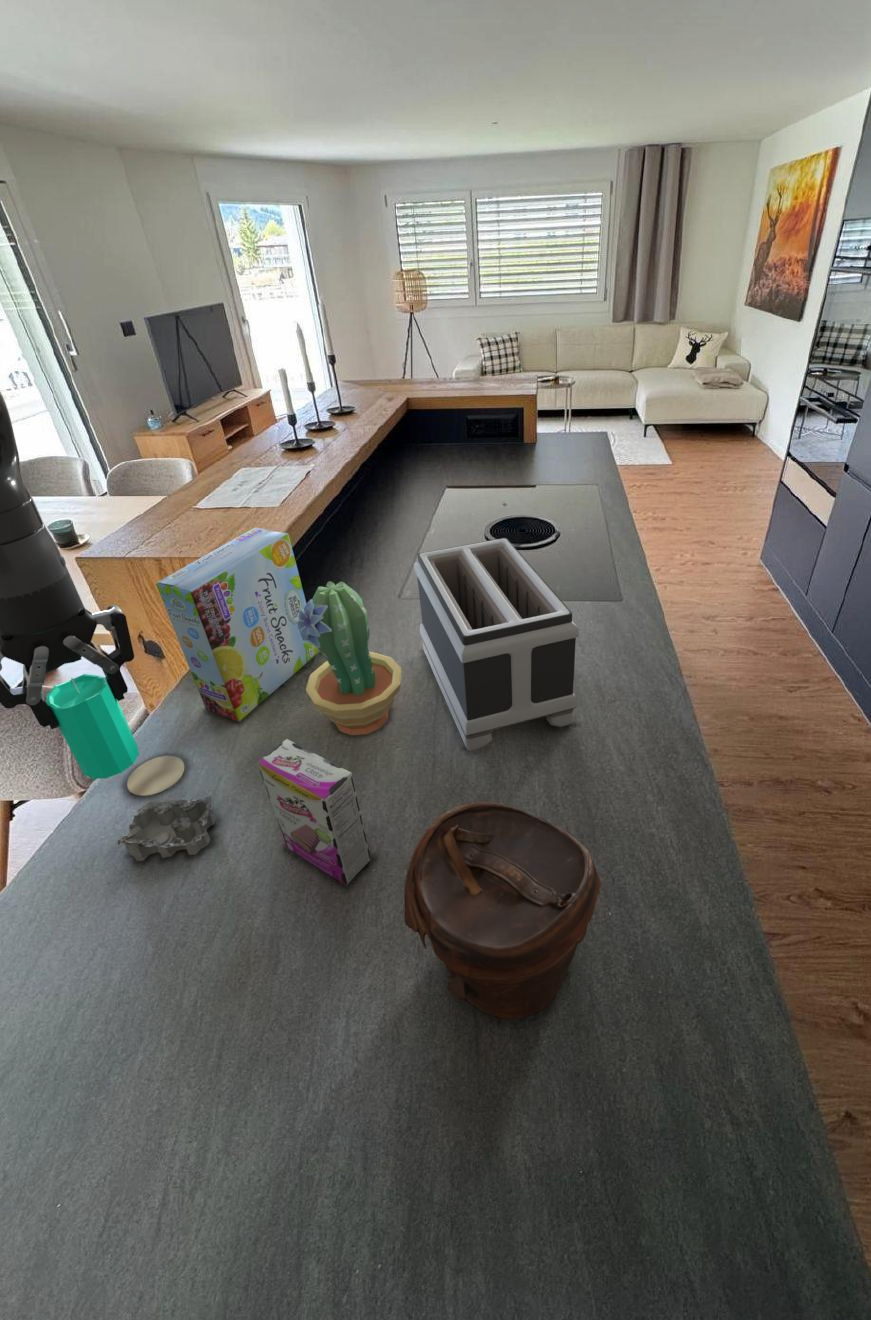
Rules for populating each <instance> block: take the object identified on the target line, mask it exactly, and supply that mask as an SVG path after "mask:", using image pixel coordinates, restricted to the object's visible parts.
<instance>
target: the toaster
mask: <svg viewBox="0 0 871 1320" xmlns="http://www.w3.org/2000/svg"><path fill="white" fill-rule="evenodd" d="M413 566H414V572H415V574H416V578H417V579H416V580H417V587H418V588H417V589H418V595H419V597H418V598H419V605H420V613H421V622H420V623H419V624H420V625H419V632H420V636H421V640H422V648H423V652H424V654H425V657H426V659H427V661H428V664H429V666H430V668H431V670H432V672H433V675H434V678H435V680H436V682H437V684H438V687H439V689H440V691H441V694H442V697H443V698H444V700H445V703H446V705H447V707H448V709H449V712H450V714H451V716H452V719H453V721H454V723H455V725H456V728H457V730H458V733H459V735H460V736H461V737H460V738H461V740H462V741H463V744H464V746H465V749H466V750H468V751H474V750H479V749H483V748H485V746H486V745H488V744H489V743H490V742H492V740H493V734H492V732H493V730H497V729H502V728H506V727H510V726H513V725H518V724H521V723H525V722H529V721H533V720H537V719H540V718H545V719H546V720H547V722H548V723H549V725H550V726H554V727H555V726H556V727H558V728H561V727H566V726H569V725H571V724H573V723H574V714H575V713H574V712H575V709H576V708H577V707H578V701H577V697H576V695H575V693H574V685H575V681H574V680H575V659H576V643H577V642H576V641H577V638H578V637H579V627H578V626H577V625H576V623H575V622H574V621H573V612H572V611H571V610H570V608H568V606H567V605H566V604H565V602H563V601H562V600H561V598H560V597H559V596H558V595H557V594H556V593H555V591H554V590H553V589H552V588H551V587H550V586H549V584H548V583H547V582H546V581H545V580H544V579H543V578H542V577H541V575H539V573H538V572H537V571H536V569H534V568H533V567H532V565H531V564H530V563H529V562H528V560H527V559H526V558H525V557H524V556H523V555H522V554H521V553H520V551H519V550H518V549H517V548H516V546H514V545H513V543H512V542H511V541H510V539H508V538H507V537H501V538H496V539H495V538H494V539H490V540H484V541H479V542H474V543H473V542H472V543H468V544H462V545H456V546H452V547H445V548H439V549H435V550H434V549H433V550H427V551H423V552H418V553H417V561H415V562H414V564H413Z"/></svg>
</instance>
